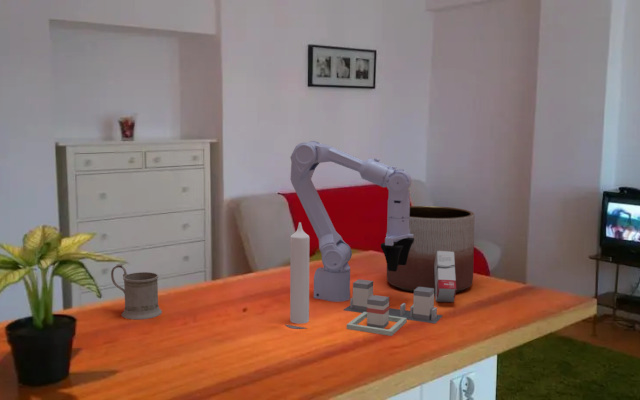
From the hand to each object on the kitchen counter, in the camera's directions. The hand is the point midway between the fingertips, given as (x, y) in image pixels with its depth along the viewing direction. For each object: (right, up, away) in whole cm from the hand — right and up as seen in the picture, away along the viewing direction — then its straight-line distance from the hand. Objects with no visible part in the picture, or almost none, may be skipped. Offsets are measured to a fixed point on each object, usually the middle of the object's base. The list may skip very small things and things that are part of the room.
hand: (397, 267), depth 173 cm
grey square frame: (-7, -13, -17) cm, 23 cm away
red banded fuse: (-7, -12, -18) cm, 22 cm away
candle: (-25, -12, -14) cm, 32 cm away
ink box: (+13, -8, 0) cm, 15 cm away
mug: (-67, -11, -6) cm, 69 cm away
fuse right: (+5, -11, -11) cm, 16 cm away
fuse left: (-9, -10, -4) cm, 14 cm away
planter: (+12, -8, +24) cm, 28 cm away
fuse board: (-2, -12, -8) cm, 14 cm away
